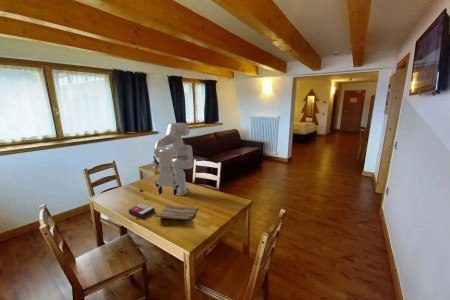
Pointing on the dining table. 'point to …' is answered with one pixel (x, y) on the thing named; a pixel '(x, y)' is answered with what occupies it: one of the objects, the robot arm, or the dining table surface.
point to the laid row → (179, 211)
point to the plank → (173, 216)
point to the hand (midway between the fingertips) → (167, 194)
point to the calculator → (141, 211)
